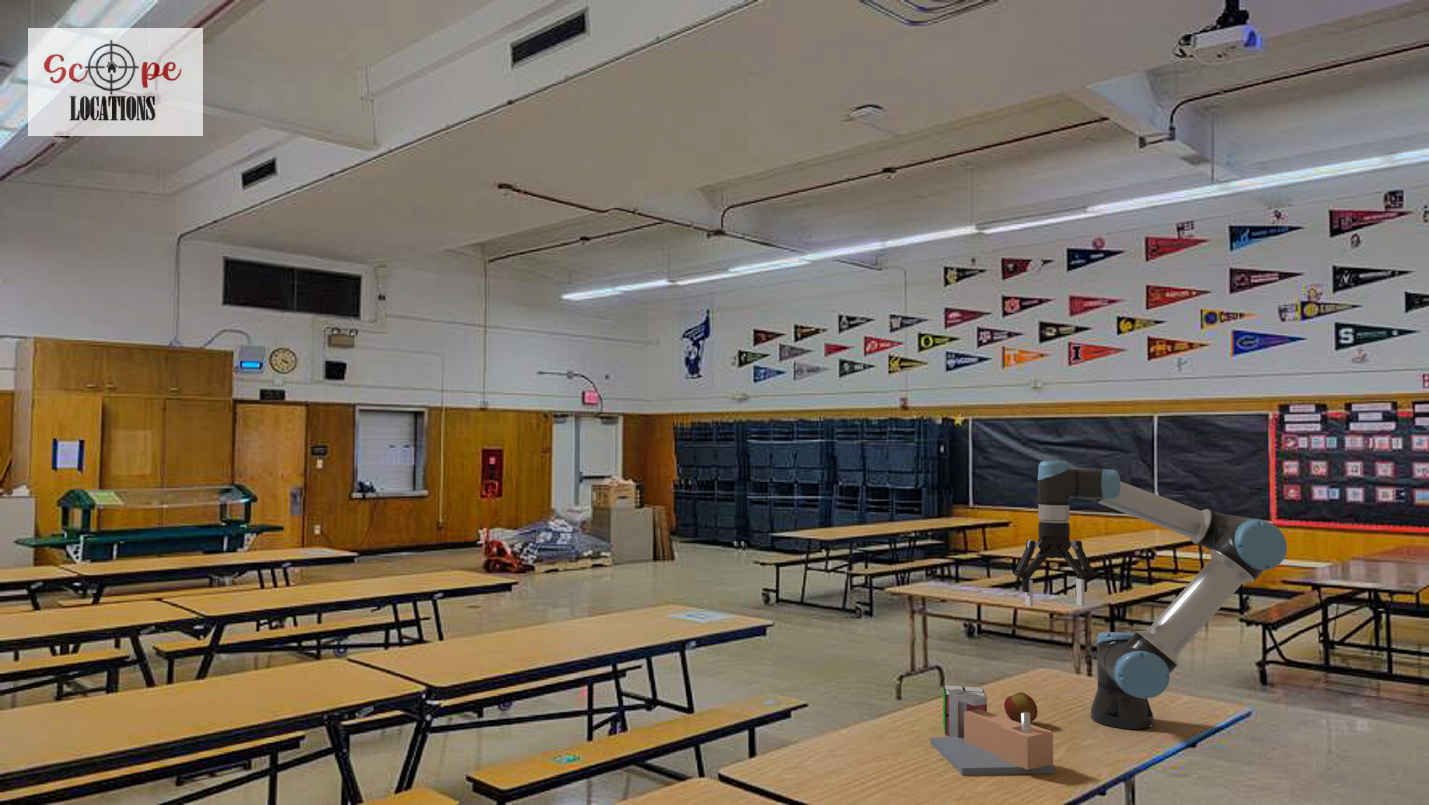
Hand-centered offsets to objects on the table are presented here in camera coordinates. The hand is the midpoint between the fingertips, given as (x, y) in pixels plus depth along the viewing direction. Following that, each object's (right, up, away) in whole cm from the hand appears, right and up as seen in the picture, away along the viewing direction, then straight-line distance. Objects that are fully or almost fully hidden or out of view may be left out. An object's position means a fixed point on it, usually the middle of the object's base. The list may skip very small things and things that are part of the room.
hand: (1054, 605), depth 229 cm
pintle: (-17, -30, -28) cm, 45 cm away
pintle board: (-23, -30, -22) cm, 44 cm away
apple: (-7, -32, +5) cm, 33 cm away
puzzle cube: (-23, -32, -2) cm, 39 cm away
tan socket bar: (-20, -29, -23) cm, 42 cm away
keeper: (-26, -31, -13) cm, 42 cm away
